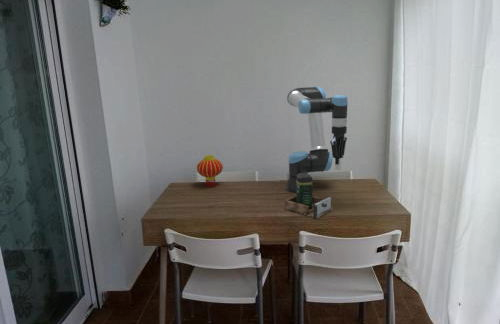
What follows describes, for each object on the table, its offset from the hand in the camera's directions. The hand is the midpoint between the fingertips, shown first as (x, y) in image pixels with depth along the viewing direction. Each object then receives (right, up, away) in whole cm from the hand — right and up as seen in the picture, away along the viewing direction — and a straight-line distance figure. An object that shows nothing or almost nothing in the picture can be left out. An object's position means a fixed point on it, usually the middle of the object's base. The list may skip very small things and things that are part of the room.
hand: (338, 169), depth 192 cm
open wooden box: (-16, -21, +1) cm, 27 cm away
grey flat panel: (-9, -22, -6) cm, 24 cm away
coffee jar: (-18, -20, +3) cm, 27 cm away
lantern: (-73, -12, +50) cm, 89 cm away
